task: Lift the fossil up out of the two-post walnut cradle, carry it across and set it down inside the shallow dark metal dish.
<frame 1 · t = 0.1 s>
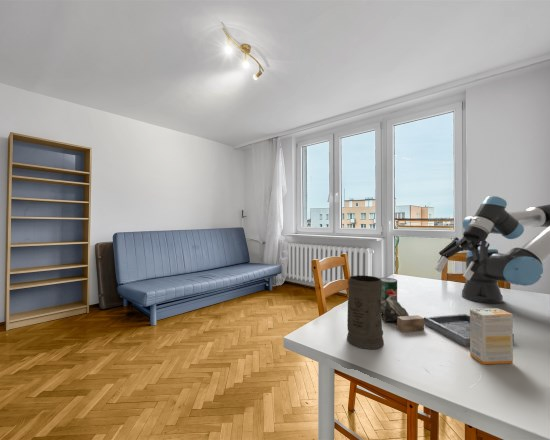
hand: (450, 274, 106), 15 cm above the table, tool tilted 35°, fingers open, 13 cm apart
fossil: (395, 320, 99), resting in cradle
supplement box: (490, 360, 72), on the table
canned tomato: (387, 305, 116), on the table
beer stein: (366, 338, 84), on the table
dish: (465, 332, 88), on the table
cradle: (395, 319, 99), on the table
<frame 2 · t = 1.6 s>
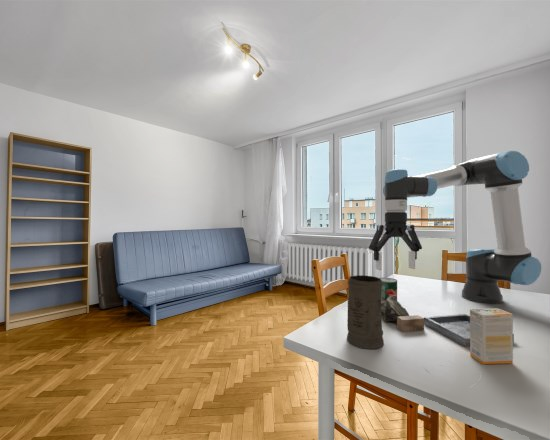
hand: (395, 269, 99), 19 cm above the table, tool pointing down, fingers open, 13 cm apart
nothing on the table moved.
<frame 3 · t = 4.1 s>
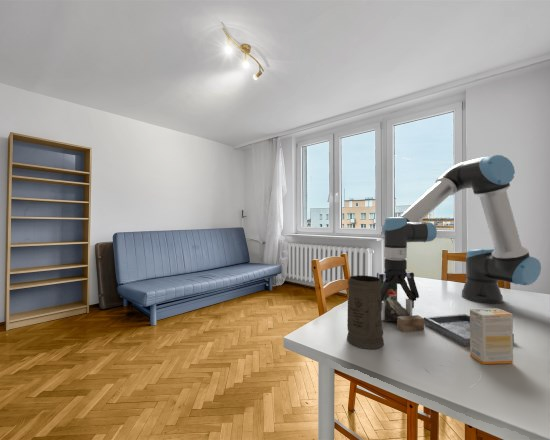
hand: (395, 317, 99), 1 cm above the table, tool pointing down, fingers closed on fossil, 11 cm apart
fossil: (395, 320, 99), resting in cradle, touching gripper
everything else where it was.
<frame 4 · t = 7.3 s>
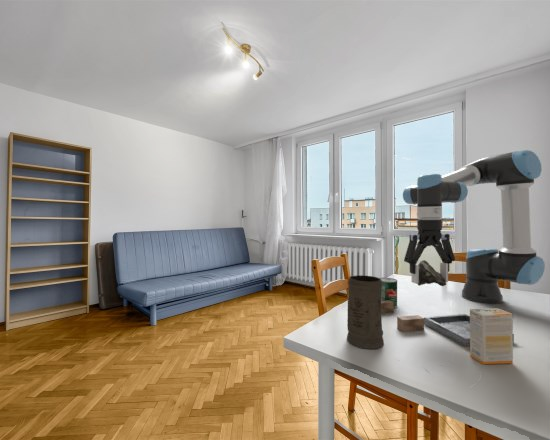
hand: (429, 282, 94), 15 cm above the table, tool pointing down, fingers closed on fossil, 10 cm apart
fossil: (429, 284, 93), point 14 cm above the table, touching gripper
everything else where it was.
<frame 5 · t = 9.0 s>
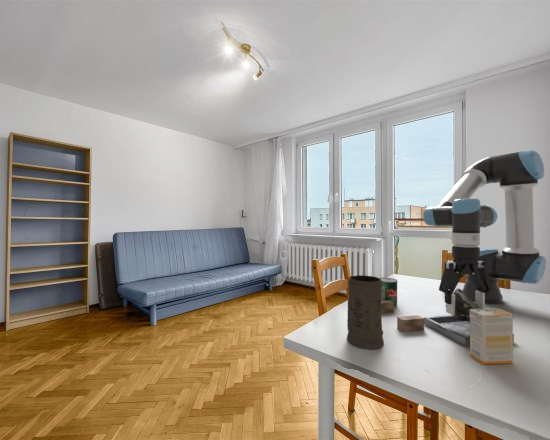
hand: (465, 312, 88), 7 cm above the table, tool pointing down, fingers closed on fossil, 10 cm apart
fossil: (465, 315, 88), point 6 cm above the table, touching gripper
everything else where it was.
when the fingers open (4 cm above the table, at t = 10.5 s): fossil drops 2 cm, resting on dish.
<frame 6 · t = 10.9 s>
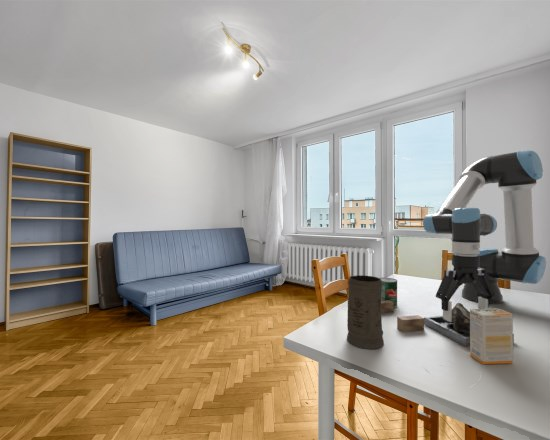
hand: (465, 318, 88), 4 cm above the table, tool pointing down, fingers open, 13 cm apart
fossil: (466, 330, 88), point 1 cm above the table, touching dish
everything else where it was.
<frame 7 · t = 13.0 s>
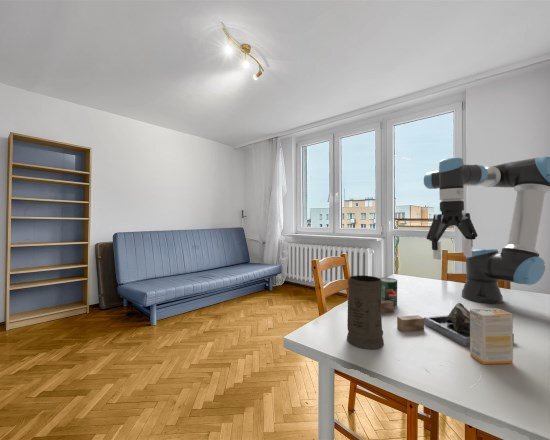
hand: (452, 257, 99), 23 cm above the table, tool pointing down, fingers open, 13 cm apart
nothing on the table moved.
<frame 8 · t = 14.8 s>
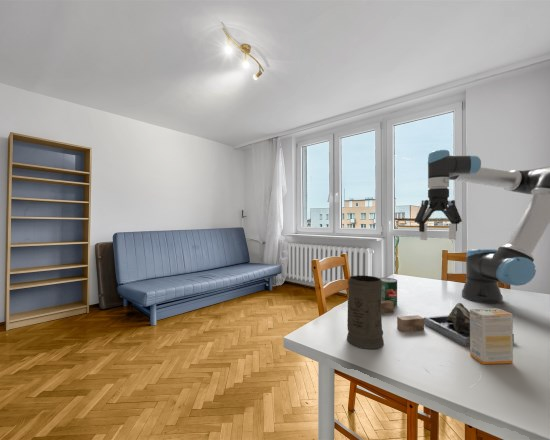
hand: (438, 239, 111), 29 cm above the table, tool pointing down, fingers open, 13 cm apart
nothing on the table moved.
at the end: fossil inside the target area on the dish (0.5 cm from its centre), point 0.8 cm above the dish's base; the gripper is holding nothing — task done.
